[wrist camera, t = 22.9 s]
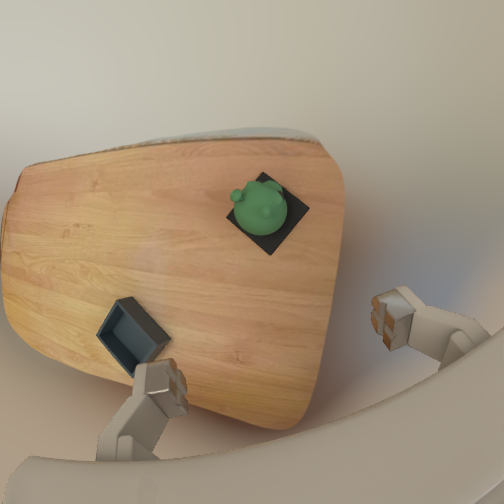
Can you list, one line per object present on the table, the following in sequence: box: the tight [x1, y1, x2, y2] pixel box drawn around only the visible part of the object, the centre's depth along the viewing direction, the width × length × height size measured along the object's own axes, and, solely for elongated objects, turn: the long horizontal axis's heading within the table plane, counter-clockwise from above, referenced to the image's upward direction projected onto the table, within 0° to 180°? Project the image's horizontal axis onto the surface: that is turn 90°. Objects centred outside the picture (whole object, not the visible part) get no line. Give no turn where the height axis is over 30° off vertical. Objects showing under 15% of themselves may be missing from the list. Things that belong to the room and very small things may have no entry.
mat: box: [226, 172, 309, 255], centre depth 44 cm, size 9×9×1 cm
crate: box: [96, 297, 171, 378], centre depth 48 cm, size 11×10×4 cm
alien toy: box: [230, 180, 287, 236], centre depth 39 cm, size 7×8×10 cm
